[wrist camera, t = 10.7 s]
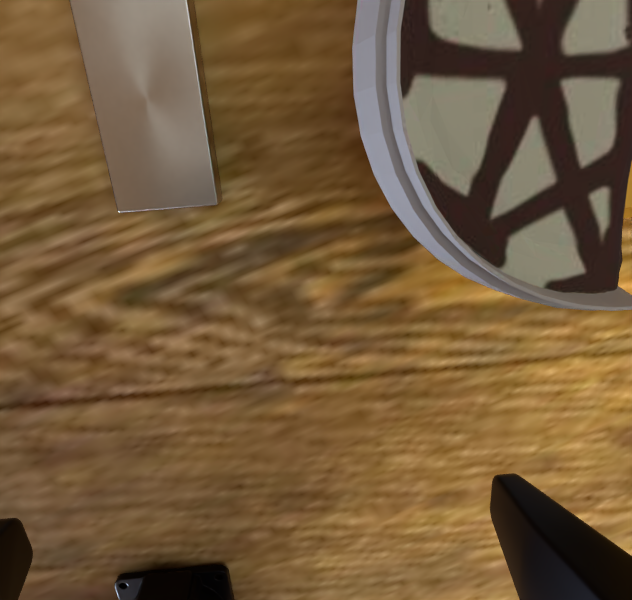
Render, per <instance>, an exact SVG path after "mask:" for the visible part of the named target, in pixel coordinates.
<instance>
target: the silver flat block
mask: <svg viewBox="0 0 632 600" xmlns="http://www.w3.org/2000/svg"><path fill="white" fill-rule="evenodd" d="M69 1H70V5H71V10H72V14H73V18H74V23H75V27H76V31H77V36H78V40H79V44H80V49H81V53H82V57H83V62H84V66H85V70H86V75H87V79H88V84H89V88H90V92H91V97H92V101H93V105H94V110H95V114H96V118H97V123H98V127H99V131H100V136H101V140H102V144H103V149H104V153H105V157H106V162H107V166H108V170H109V175H110V179H111V183H112V188H113V192H114V197H115V201H116V205H117V210H118V212H119V213H125V212H137V211H150V210H162V209H175V208H187V207H200V206H212V205H218V204H219V203H220V202H221V201H222V193H221V187H220V180H219V173H218V166H217V159H216V152H215V145H214V138H213V132H212V125H211V118H210V111H209V104H208V97H207V90H206V83H205V77H204V70H203V63H202V56H201V49H200V42H199V35H198V28H197V22H196V15H195V8H194V1H193V0H69Z"/></svg>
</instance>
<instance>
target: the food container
mask: <svg viewBox="0 0 632 600" xmlns="http://www.w3.org/2000/svg"><path fill="white" fill-rule="evenodd" d="M352 54H353V92H354V99H355V105H356V111H357V117H358V122H359V128H360V134H361V138H362V141H363V144H364V147H365V150H366V153H367V156H368V159H369V162H370V165H371V168H372V171H373V174H374V176H375V178H376V180H377V182H378V184H379V185H380V187H381V189H382V191H383V193H384V195H385V197H386V199H387V201H388V203H389V204H390V206H391V208H392V210H393V211H394V212H395V213H396V215H397V216H398V217H399V219H400V220H401V221H402V223H403V224H404V225H405V227H406V228H407V229H408V231H409V232H410V233H411V234H412V236H413V237H414V238H415V239H416V240H417V241H418V242H420V243H421V244H422V245H423V246H424V247H425V248H426V249H427V250H428V251H429V252H430V253H431V254H433V255H434V256H435V257H436V258H437V259H438V260H439V261H441V262H442V263H444V264H446V265H447V266H449V267H450V268H452V269H453V270H455V271H456V272H458V273H460V274H461V275H463V276H464V277H466V278H468V279H470V280H473V281H475V282H477V283H480V284H482V285H484V286H487V287H489V288H492V289H494V290H496V291H499V292H502V293H505V294H508V295H511V296H515V297H518V298H521V299H524V300H528V301H532V302H536V303H540V304H544V305H548V306H552V307H556V308H568V309H580V310H609V311H616V310H631V309H632V295H630V294H629V293H627V292H626V291H624V290H623V289H621V288H620V287H618V279H619V271H620V267H621V263H622V250H621V243H622V225H623V217H624V210H625V202H626V194H627V186H628V179H629V173H630V168H631V163H632V0H358V1H357V10H356V19H355V28H354V37H353V45H352Z"/></svg>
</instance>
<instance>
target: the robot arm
mask: <svg viewBox="0 0 632 600" xmlns="http://www.w3.org/2000/svg"><path fill="white" fill-rule="evenodd" d="M490 513H491V518H492V522H493V525H494V527H495V530H496V533H497V536H498V539H499V542H500V545H501V548H502V550H503V553H504V556H505V559H506V562H507V565H508V568H509V571H510V573H511V576H512V579H513V582H514V585H515V588H516V591H517V593H518V596H519V599H520V600H632V556H631V555H629V554H628V553H627V552H625V551H624V550H622V549H621V548H620V547H618V546H617V545H615V544H614V543H613V542H611V541H610V540H608V539H607V538H606V537H604V536H603V535H601V534H600V533H599V532H597V531H596V530H594V529H593V528H592V527H590V526H589V525H588V524H586V523H585V522H583V521H582V520H581V519H579V518H578V517H576V516H575V515H574V514H572V513H571V512H569V511H568V510H567V509H565V508H564V507H562V506H561V505H560V504H558V503H557V502H555V501H554V500H553V499H551V498H550V497H548V496H547V495H546V494H544V493H543V492H541V491H540V490H539V489H537V488H536V487H534V486H533V485H532V484H530V483H529V482H527V481H526V480H525V479H523V478H522V477H520V476H519V475H517V474H513V473H512V474H501V475H496V476H494V478H493V481H492V491H491V503H490ZM32 557H33V551H32V547H31V544H30V542H29V539H28V537H27V534H26V532H25V529H24V527H23V524H22V522H21V521H20V520H19V519H17V518H8V519H0V600H18V598H19V595H20V593H21V590H22V587H23V584H24V582H25V579H26V576H27V574H28V571H29V568H30V565H31V562H32ZM115 589H116V592H117V595H118V598H119V600H234V595H233V590H232V585H231V580H230V575H229V570H228V568H227V567H226V566H224V565H211V566H200V567H189V568H178V569H167V570H157V571H146V572H135V573H124V574H120V575H119V576H118V577H117V580H116V582H115Z"/></svg>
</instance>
